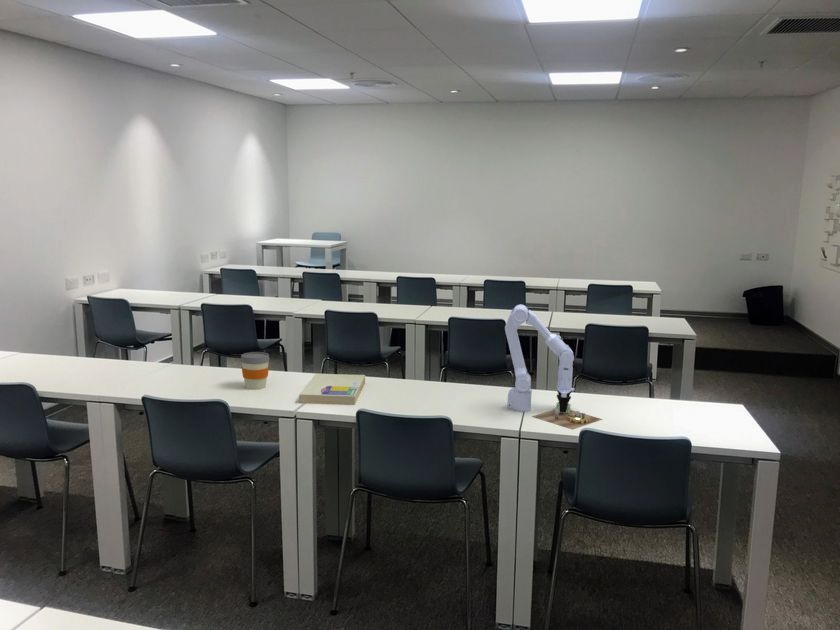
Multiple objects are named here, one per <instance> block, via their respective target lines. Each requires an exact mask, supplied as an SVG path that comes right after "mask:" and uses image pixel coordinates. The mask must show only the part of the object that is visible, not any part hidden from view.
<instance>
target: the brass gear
mask: <svg viewBox="0 0 840 630" xmlns="http://www.w3.org/2000/svg"><path fill="white" fill-rule="evenodd" d="M581 413H582V415H581V414H580V415H579V416H576V414H574V413H572V414H568V415H566V421H570V423H575V424H578V423H580V424H583V423H588V422H589V416H585V412H581Z"/></svg>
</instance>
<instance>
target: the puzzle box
mask: <svg viewBox="0 0 840 630" xmlns="http://www.w3.org/2000/svg"><path fill="white" fill-rule="evenodd" d="M365 384H366V375H365V374H346V373H345V374H341V373H339V374H337V373H335V374H334V373H315V374H314V375H313V377H312V378H311V379H310V380H309V382H308V383H307V384H306V385H305V387H304V388H303V389H302V391H301V392H300V393H299V404H309V405H341V406H344V405H345V406H355V405H356V404H357V401H358V399H359V397H360V395H361V393H362V391H363V388H364V387H365Z"/></svg>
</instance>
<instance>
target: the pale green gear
mask: <svg viewBox="0 0 840 630" xmlns="http://www.w3.org/2000/svg"><path fill="white" fill-rule="evenodd" d="M555 407H556V408H555V409H558V410H559V413H563V414H565V413H569V412H570V410H571V403H569V402H568V405H567V410H566V412H560V406H559V401H558V402H556V404H555Z"/></svg>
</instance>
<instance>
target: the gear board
mask: <svg viewBox="0 0 840 630" xmlns="http://www.w3.org/2000/svg"><path fill="white" fill-rule="evenodd" d="M572 413H574V414H576V416H579V415H580V414H581V415H582V413H583V412H580V411H579V410H572V409H570V412H569V413H565V414H563V413H559V410H558V409H556V408H555V409H552V410H549V411H545V412H542V413H538V414H535V415H532V416H531V417H532V418H533V419H538V420H541V421H544V422H547V423H550V424H553V425H556V426H560V427H562V428H565V429H569V430H576V429H579V428H582V427H585V426H587V425H591V424H593V423H596V422H599V421H603V418H600V417H597V416H593V415H589V414H585V416H589V422H588V423H583V424H580V423H578V424H575V423H570V421H566V415H568V414H572Z"/></svg>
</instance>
